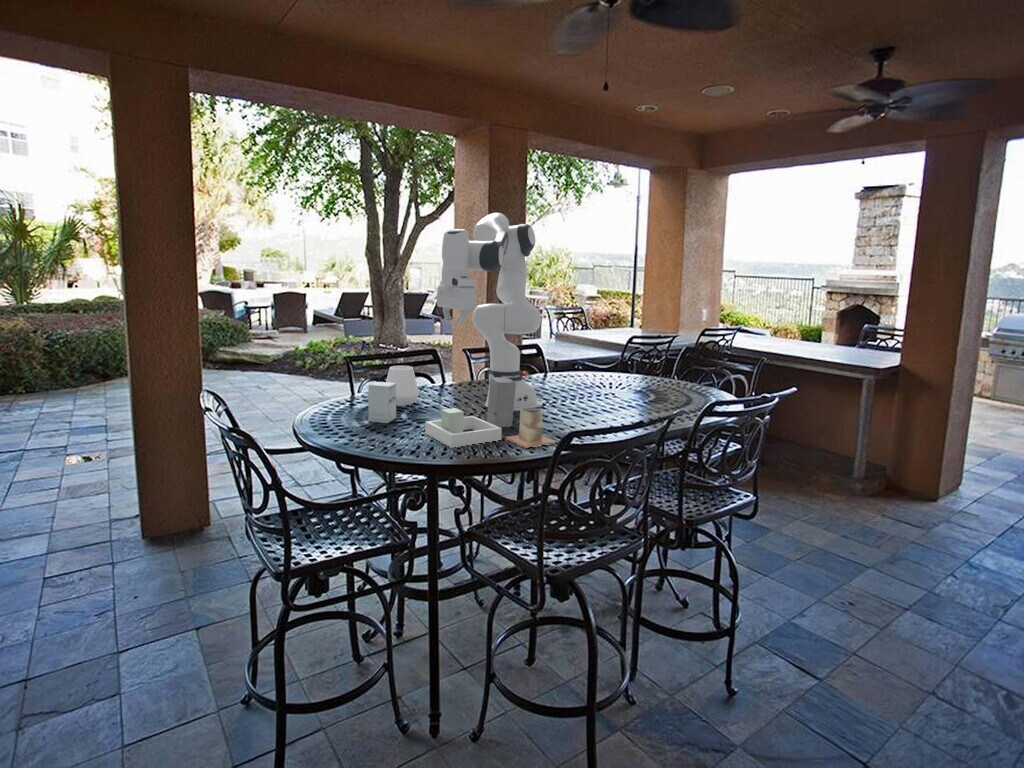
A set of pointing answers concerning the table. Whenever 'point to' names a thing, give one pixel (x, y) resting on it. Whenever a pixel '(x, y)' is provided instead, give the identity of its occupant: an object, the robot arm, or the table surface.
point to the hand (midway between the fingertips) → (454, 322)
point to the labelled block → (531, 424)
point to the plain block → (452, 420)
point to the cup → (403, 384)
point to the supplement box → (382, 402)
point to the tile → (530, 444)
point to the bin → (480, 435)
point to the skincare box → (501, 401)
